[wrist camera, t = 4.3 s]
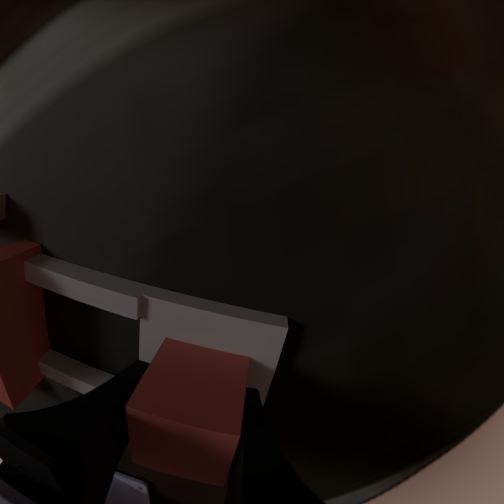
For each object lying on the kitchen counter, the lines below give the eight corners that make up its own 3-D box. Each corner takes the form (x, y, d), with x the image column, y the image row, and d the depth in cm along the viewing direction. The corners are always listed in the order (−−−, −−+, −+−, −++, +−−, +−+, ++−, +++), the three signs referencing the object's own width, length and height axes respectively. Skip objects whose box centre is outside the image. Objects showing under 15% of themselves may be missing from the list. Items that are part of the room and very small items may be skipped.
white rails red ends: (251, 429, 14) (243, 510, 9) (38, 359, 14) (-10, 406, 9) (290, 306, 12) (301, 393, 7) (24, 239, 12) (-51, 269, 7)
